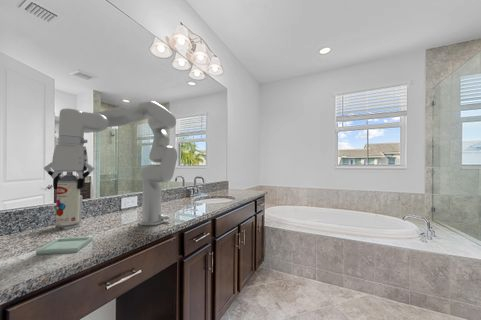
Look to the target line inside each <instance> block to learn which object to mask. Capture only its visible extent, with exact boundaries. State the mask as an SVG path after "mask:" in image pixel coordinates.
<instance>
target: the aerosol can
mask: <svg viewBox="0 0 481 320" xmlns="http://www.w3.org/2000/svg"><path fill="white" fill-rule="evenodd" d="M60 178H61V179H60V180H58V183H57V189H56V206H55V207H56V208H55V226H54V227H55V228H61V229H64V228H63V227H71V226H75V225H78V224H79V207H80V196H81V189H77V186H78V179H79V178H78V177H77V176H76V175H74V172H66V174H65V175H64V176H62V177H60Z"/></svg>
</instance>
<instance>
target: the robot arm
mask: <svg viewBox="0 0 481 320" xmlns="http://www.w3.org/2000/svg"><path fill="white" fill-rule="evenodd" d="M58 118H59V119H58V120H59V121H58V138H57V139H58V141H57V142H58V143H57V144H55V147H54V150H53V153H52V154H53V155H52V159H51V162H50V163H49V164H47V165H46V166H44V167H43V170H44V171H46V173H47V174H48V175H49V176H50V177H51V178H52V187H53V190H57V183H58V180H60V179H61V178H62V177H61V175H62V174H63V172H66V173H67V172H73V173H74V172H75V173H76V174H77V175H78V177H79V178H78V186H77V189H80V190H81V189H82V190H83V189H84V187H85V182H86V178H87V177H88V176H89V175H90V174H91V173H92V172H94V171H95V167H94V166H93V165H91V164H90V163H89V157H88V150H87V147H86V146H85V144H88V139H85V136H84V135H85V134H89V133H99V132H103V131H106V130H107V129H108V128H112V127H120V126H126V125H131V124H133V123H137V122H141V121H143V120H144V121H145V120H147V122H148V123H147V124H148V126H149V128H150V129H151V132H152V134H153V140H152V144H151V148H150V152H149V155H148V156H149V160H150V162H152V163H153V164H147V165H145V166H144V167H143V168H142V169H141V174H140V175H141V181H142V204H141V205H142V206H141V209H142V210H141V211H142V212H141V219H140V220H139V221H138V225H140V226H147V227H149V226H156V225H161V224H163V223H164V222H165V220H169V219H170V215H168V214H165V215H164V214H163V212H162V194H163V192H162V191H163V190H162V185H161V183H162V184H163V183H168V182H170V181H171V180H172V178H173V176H174V174H175V169H176V165H177V161H178V152H177V149H176V148H175V146H172V145H169V144H170V136H169V133H168V132H167V130H170V129H173V128H174V127H175V126H176V125H177V119H176V117H175V115H174V114H173V113H172V112H171V111H169V110H168V109H167V108H166V107H164V106H163V105H161V104H159V103H158V102H156V101H153V100H150V101H143V102H138V103H132V104H127V105H122V106H117V107H114V108H110V109H106V110H102V111H97V112H86V111H82V110H80V109H75V108H62V109H60V111H59V117H58Z"/></svg>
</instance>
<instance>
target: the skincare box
mask: <svg viewBox="0 0 481 320" xmlns="http://www.w3.org/2000/svg"><path fill="white" fill-rule="evenodd" d="M82 207H83V195H80V207H79V224H78V225H75V226H71V227H63V228H62V229H64V230H69V229H73V228H79V227H81V221H82V211H83V210H82V209H83V208H82Z"/></svg>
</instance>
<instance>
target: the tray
mask: <svg viewBox="0 0 481 320" xmlns="http://www.w3.org/2000/svg"><path fill="white" fill-rule="evenodd" d="M93 239H94V236H82V237H80V236H79V237H64V238H62V237H61V238H56V239H55V240H52V241H51V242H49V243H47V244H45V245H43V246H42V247H41V248H38V249H37V250H35V255H36V256H44V255H58V254H71V253H78V252H80V251H81V250H82V249H83V248H85V247H86V246H87V245H88V244H90V243H91V242H93Z"/></svg>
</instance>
